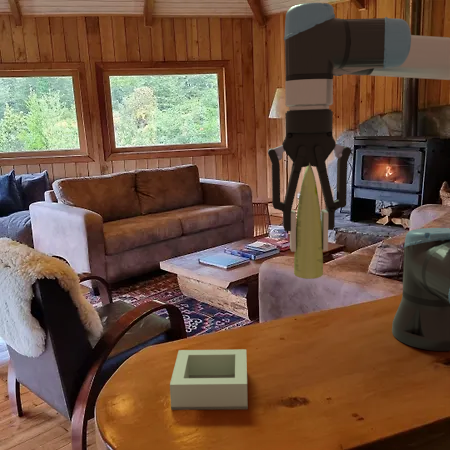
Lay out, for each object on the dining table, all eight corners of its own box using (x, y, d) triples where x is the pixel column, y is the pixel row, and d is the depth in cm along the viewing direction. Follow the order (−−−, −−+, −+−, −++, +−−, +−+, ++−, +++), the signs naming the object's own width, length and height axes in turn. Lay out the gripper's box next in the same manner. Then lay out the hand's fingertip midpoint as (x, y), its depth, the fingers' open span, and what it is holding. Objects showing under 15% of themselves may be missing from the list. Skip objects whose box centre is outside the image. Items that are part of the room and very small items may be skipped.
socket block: (246, 371, 97) (246, 349, 96) (247, 409, 85) (247, 383, 84) (179, 372, 98) (178, 350, 97) (171, 409, 86) (169, 384, 85)
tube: (332, 276, 89) (332, 161, 85) (309, 282, 86) (309, 163, 82) (309, 269, 93) (309, 159, 89) (287, 274, 91) (286, 161, 86)
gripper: (359, 106, 87) (356, 242, 92) (253, 110, 88) (255, 244, 93) (370, 106, 80) (366, 253, 85) (254, 110, 80) (257, 256, 85)
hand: (308, 248), depth 89 cm, fingers closed on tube, 5 cm apart
